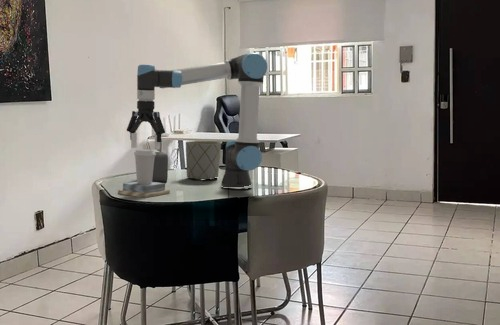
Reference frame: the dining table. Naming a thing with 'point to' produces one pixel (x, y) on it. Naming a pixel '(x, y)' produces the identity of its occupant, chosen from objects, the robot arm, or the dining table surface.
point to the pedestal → (143, 189)
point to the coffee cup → (144, 165)
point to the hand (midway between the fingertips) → (145, 148)
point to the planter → (202, 159)
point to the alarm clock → (160, 167)
